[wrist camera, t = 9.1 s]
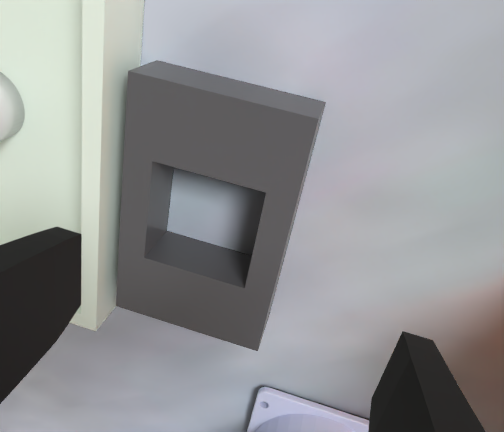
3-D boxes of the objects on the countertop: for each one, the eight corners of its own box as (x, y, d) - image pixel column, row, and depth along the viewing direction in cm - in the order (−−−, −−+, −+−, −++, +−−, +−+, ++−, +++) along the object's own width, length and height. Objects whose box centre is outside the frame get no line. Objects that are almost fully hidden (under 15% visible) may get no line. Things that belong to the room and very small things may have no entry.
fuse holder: (268, 316, 23) (257, 351, 21) (139, 276, 24) (115, 305, 22) (325, 102, 18) (318, 118, 16) (156, 60, 19) (128, 70, 17)
